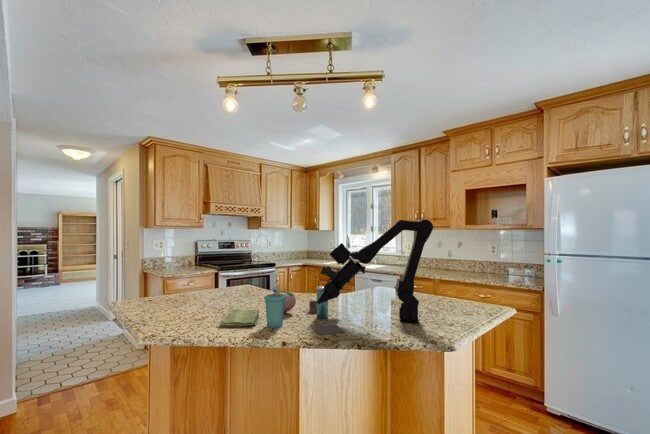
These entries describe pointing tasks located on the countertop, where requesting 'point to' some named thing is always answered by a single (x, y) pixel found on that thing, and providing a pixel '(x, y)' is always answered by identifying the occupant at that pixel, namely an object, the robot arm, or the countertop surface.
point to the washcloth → (240, 318)
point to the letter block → (313, 305)
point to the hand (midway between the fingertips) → (319, 300)
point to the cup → (275, 307)
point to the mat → (327, 329)
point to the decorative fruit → (288, 300)
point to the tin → (321, 305)
